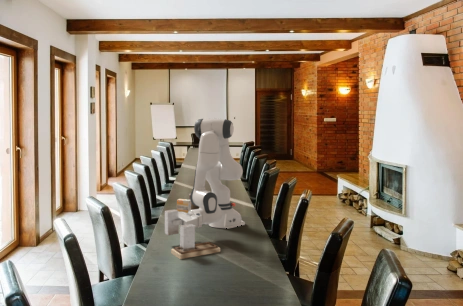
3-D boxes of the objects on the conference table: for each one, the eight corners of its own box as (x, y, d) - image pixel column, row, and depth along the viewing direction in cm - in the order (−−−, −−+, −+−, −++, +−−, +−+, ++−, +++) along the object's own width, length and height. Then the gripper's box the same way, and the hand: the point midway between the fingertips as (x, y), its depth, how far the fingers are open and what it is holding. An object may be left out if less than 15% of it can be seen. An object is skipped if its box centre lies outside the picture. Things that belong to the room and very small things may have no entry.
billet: (190, 247, 216) (191, 224, 215) (194, 250, 213) (194, 225, 212) (179, 249, 213) (180, 225, 212) (183, 252, 210) (183, 227, 209)
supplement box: (176, 220, 277) (176, 199, 276) (179, 218, 282) (179, 198, 281) (188, 221, 275) (188, 200, 274) (191, 219, 280) (191, 199, 278)
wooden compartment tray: (210, 246, 226) (210, 241, 226) (220, 251, 218) (220, 246, 217) (171, 253, 214) (171, 247, 214) (180, 259, 206) (180, 253, 206)
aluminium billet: (175, 231, 232) (175, 209, 230) (178, 233, 228) (178, 211, 227) (164, 233, 228) (164, 210, 227) (167, 235, 225) (167, 212, 224)
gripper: (185, 207, 243) (161, 211, 235) (203, 216, 226) (178, 220, 218) (185, 219, 244) (162, 222, 236) (202, 228, 226) (178, 232, 219)
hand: (170, 221), depth 227 cm, fingers closed on aluminium billet, 4 cm apart
